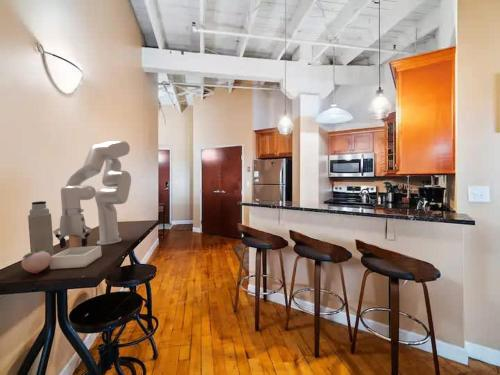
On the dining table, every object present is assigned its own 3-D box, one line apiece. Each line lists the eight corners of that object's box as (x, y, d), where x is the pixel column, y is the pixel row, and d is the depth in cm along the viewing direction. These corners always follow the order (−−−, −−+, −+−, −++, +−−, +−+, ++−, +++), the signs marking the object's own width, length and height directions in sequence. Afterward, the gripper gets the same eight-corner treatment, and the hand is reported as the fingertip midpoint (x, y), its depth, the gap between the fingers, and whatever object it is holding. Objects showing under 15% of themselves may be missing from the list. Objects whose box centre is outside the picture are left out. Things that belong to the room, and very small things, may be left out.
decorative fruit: (36, 278, 100) (34, 252, 100) (18, 277, 102) (16, 252, 101) (57, 269, 109) (56, 245, 109) (41, 268, 111) (39, 245, 110)
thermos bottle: (28, 268, 111) (23, 203, 110) (35, 263, 119) (30, 201, 117) (51, 265, 114) (47, 201, 113) (56, 260, 122) (52, 200, 120)
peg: (72, 254, 130) (71, 234, 130) (80, 254, 130) (79, 234, 130) (68, 257, 126) (67, 236, 126) (76, 256, 127) (75, 236, 126)
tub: (70, 258, 125) (69, 247, 125) (101, 256, 126) (100, 245, 126) (50, 269, 110) (49, 257, 110) (85, 266, 111) (84, 255, 111)
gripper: (94, 210, 132) (96, 243, 133) (57, 211, 130) (59, 246, 131) (86, 212, 125) (88, 247, 125) (47, 213, 123) (49, 250, 124)
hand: (73, 246), depth 128 cm, fingers open, 9 cm apart
